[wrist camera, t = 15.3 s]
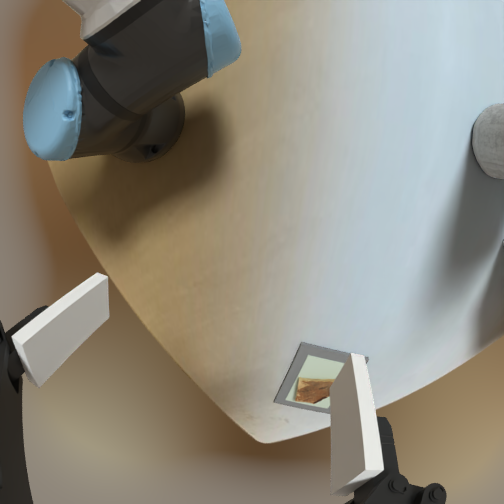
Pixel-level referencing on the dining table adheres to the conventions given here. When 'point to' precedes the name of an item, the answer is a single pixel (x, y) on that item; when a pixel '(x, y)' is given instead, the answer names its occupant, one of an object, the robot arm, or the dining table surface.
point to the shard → (313, 390)
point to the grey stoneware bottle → (490, 141)
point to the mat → (311, 374)
